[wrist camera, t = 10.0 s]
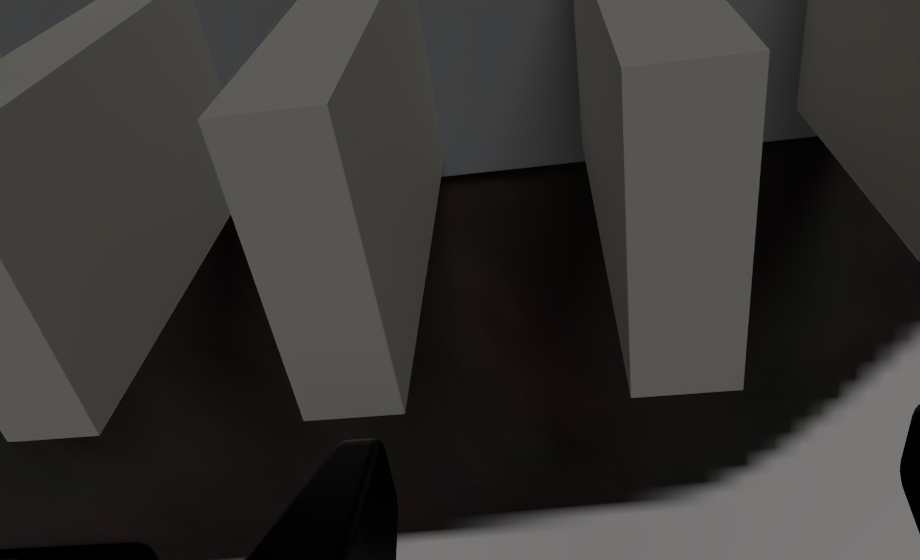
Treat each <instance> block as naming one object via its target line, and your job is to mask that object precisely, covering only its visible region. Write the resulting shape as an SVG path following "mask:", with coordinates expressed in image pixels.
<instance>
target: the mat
mask: <svg viewBox="0 0 920 560" xmlns="http://www.w3.org/2000/svg"><path fill="white" fill-rule="evenodd" d="M94 1H95V0H0V54H1V56H2V57H4V56H5V55H7V54H8V53H10V52H12V51H13V50H15V49H17V48H18V47H20V46H22V45H23V44H25V43H27V42H28V41H30V40H31V39H33V38H35V37H36V36H38V35H40V34H41V33H43V32H45V31H46V30H48V29H49V28H51V27H53V26H54V25H56V24H58V23H59V22H61V21H63V20H64V19H66V18H68V17H69V16H71V15H72V14H74V13H76V12H77V11H79V10H81V9H82V8H84V7H86V6H87V5H89V4H90V3H92V2H94ZM296 1H297V0H193V2H194V5H195V8H196V11H197V14H198V17H199V20H200V23H201V26H202V29H203V32H204V35H205V38H206V42H207V45H208V48H209V51H210V54H211V57H212V60H213V63H214V66H215V69H216V72H217V75H218V78H219V81H220V84H221V88H222V90H223V89H224V87H225V86H226V85H227V84H228V83H229V81H230V80H231V79H232V78H233V77H234V75H235V74H236V73H237V72H238V71H239V70H240V68H241V67H242V66H243V65H244V64H245V62H246V61H247V60H248V59H249V58H250V56H251V55H252V54H253V53H254V52H255V50H256V49H257V48H258V47H259V46H260V44H261V43H262V42H263V41H264V40H265V38H266V37H267V36H268V35H269V34H270V32H271V31H272V30H273V29H274V28H275V26H276V25H277V24H278V23H279V22H280V20H281V19H282V18H283V17H284V16H285V14H286V13H287V12H288V11H289V10H290V8H291V7H292V6H293V5H294V4H295V2H296ZM726 1H727V2H728V3H729V4H730V5H731V6H732V7H733V8H734V10H735V11H736V12H737V13H738V14H739V15H740V16H741V18H742V19H743V20H744V21H745V22H746V23H747V24H748V26H749V27H750V28H751V29H752V30H753V31H754V32H755V34H756V35H757V36H758V37H759V38H760V39H761V40H762V42H763V43H764V44H765V45H766V46H767V47H768V48H769V50H770V54H769V67H768V80H767V92H766V105H765V118H764V130H763V142H768V141H777V140H786V139H796V138H805V137H814V136H818V135H817V134H816V133H815V132H814V130H813V129H812V128H811V127H810V125H809V124H808V123H807V122H806V121H805V119H804V118H803V117H802V116H801V114H800V113H799V112H798V111H797V109H796V107H797V98H798V88H799V78H800V68H801V58H802V48H803V39H804V29H805V19H806V9H807V0H726ZM417 2H418V8H419V14H420V20H421V25H422V31H423V37H424V43H425V49H426V55H427V61H428V67H429V73H430V78H431V84H432V90H433V96H434V102H435V108H436V114H437V120H438V126H439V131H440V137H441V143H442V149H443V155H444V162H443V168H442V175H441V177H444V176H453V175H463V174H472V173H481V172H490V171H500V170H509V169H518V168H527V167H537V166H546V165H555V164H564V163H574V162H583V161H585V156H584V151H583V145H582V134H581V118H580V102H579V85H578V69H577V52H576V36H575V20H574V3H573V0H417Z"/></svg>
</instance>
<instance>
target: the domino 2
mask: <svg viewBox="0 0 920 560" xmlns="http://www.w3.org/2000/svg"><path fill="white" fill-rule="evenodd" d="M198 122H199V125H200V128H201V131H202V134H203V136H204V139H205V142H206V145H207V148H208V151H209V153H210V156H211V159H212V162H213V165H214V168H215V170H216V173H217V176H218V179H219V182H220V185H221V187H222V190H223V193H224V196H225V199H226V202H227V205H228V207H229V210H230V213H231V216H232V219H233V222H234V224H235V227H236V230H237V233H238V236H239V239H240V241H241V244H242V247H243V250H244V253H245V256H246V258H247V261H248V264H249V267H250V270H251V273H252V276H253V278H254V281H255V284H256V287H257V290H258V293H259V295H260V298H261V301H262V304H263V307H264V310H265V312H266V315H267V318H268V321H269V324H270V327H271V329H272V332H273V335H274V338H275V341H276V344H277V346H278V349H279V352H280V355H281V358H282V361H283V364H284V366H285V369H286V372H287V375H288V378H289V381H290V383H291V386H292V389H293V392H294V395H295V398H296V400H297V403H298V406H299V409H300V412H301V415H302V417H303V420H304V421H312V420H326V419H340V418H354V417H368V416H383V415H397V414H405V410H406V403H407V397H408V390H409V383H410V377H411V370H412V364H413V357H414V351H415V344H416V338H417V331H418V325H419V318H420V312H421V305H422V299H423V292H424V286H425V279H426V273H427V266H428V259H429V253H430V246H431V240H432V233H433V227H434V220H435V214H436V207H437V201H438V194H439V188H440V181H441V175H442V168H443V162H444V155H443V149H442V143H441V137H440V131H439V126H438V120H437V114H436V108H435V102H434V96H433V90H432V84H431V78H430V73H429V67H428V61H427V55H426V49H425V43H424V37H423V31H422V25H421V20H420V14H419V8H418V2H417V0H297V1H296V2H295V4H294V5H293V6H292V7H291V8H290V10H289V11H288V12H287V13H286V14H285V16H284V17H283V18H282V19H281V20H280V22H279V23H278V24H277V25H276V26H275V28H274V29H273V30H272V31H271V32H270V34H269V35H268V36H267V37H266V38H265V40H264V41H263V42H262V43H261V44H260V46H259V47H258V48H257V49H256V50H255V52H254V53H253V54H252V55H251V56H250V58H249V59H248V60H247V61H246V62H245V64H244V65H243V66H242V67H241V68H240V70H239V71H238V72H237V73H236V74H235V75H234V77H233V78H232V79H231V80H230V81H229V83H228V84H227V85H226V86H225V87H224V89H223V90H222V91H221V92H220V93H219V95H218V96H217V97H216V98H215V99H214V101H213V102H212V103H211V104H210V105H209V107H208V108H207V109H206V110H205V111H204V113H203V114H202V115H201V116H200V117H199V119H198Z"/></svg>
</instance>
